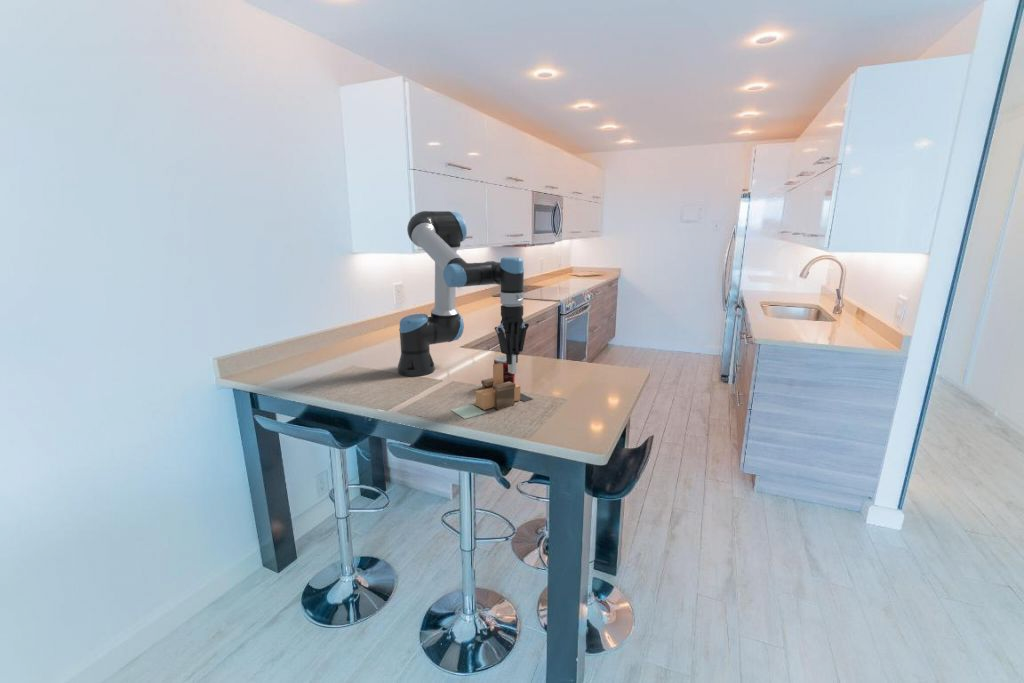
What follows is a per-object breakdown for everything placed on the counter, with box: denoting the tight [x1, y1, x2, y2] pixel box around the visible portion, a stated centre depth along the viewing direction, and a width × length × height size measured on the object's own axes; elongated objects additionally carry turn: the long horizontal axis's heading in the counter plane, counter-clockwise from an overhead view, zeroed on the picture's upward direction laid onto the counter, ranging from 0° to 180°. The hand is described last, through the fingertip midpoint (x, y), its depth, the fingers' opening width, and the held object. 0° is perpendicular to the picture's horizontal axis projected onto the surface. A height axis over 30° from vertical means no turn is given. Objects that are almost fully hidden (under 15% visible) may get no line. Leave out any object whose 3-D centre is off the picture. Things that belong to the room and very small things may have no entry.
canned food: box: [493, 355, 516, 384], centre depth 175 cm, size 8×8×11 cm
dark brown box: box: [480, 377, 516, 410], centre depth 158 cm, size 10×7×8 cm
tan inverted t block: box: [475, 363, 521, 411], centre depth 157 cm, size 5×15×14 cm, turn 127°
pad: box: [450, 403, 487, 420], centre depth 152 cm, size 9×8×1 cm
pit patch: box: [519, 392, 533, 403], centre depth 165 cm, size 8×4×1 cm, turn 37°
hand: (512, 372), depth 160 cm, fingers closed
